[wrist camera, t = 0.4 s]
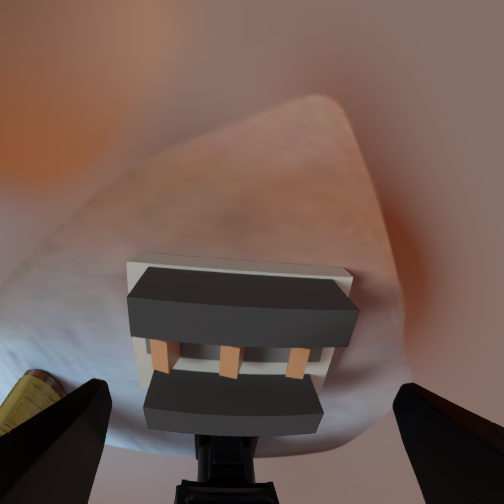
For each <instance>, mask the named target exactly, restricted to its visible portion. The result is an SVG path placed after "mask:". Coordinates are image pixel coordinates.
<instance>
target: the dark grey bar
mask: <svg viewBox="0 0 504 504" xmlns="http://www.w3.org/2000/svg"><path fill="white" fill-rule="evenodd" d="M285 376H286V374H238V377H237V379H234V378H230V377H225V376H221V375H219V373H215V372H201V371H189V370H179V369H172V370H171V371H170V373H169V374H168V373H165V372H161V371H158V370H155V369H154V372H153V375H152V378H151V381H150V385H149V388H148V392H147V395H146V399H145V402H144V406H143V409H144V414H145V418H146V423H147V427H148V428H150V429H156V430H163V431H171V432H179V433H189V434H201V435H217V436H284V435H300V434H311V433H316V431H317V428H318V426H319V424H320V421H321V419H322V417H323V414H324V412H323V409H322V407H321V404H320V401H319V398H318V396H317V393H316V390H315V388H314V385H313V382H312V379H311V377H310V374H304V376H303V379H298V378H291V377H285Z"/></svg>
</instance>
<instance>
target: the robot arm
mask: <svg viewBox="0 0 504 504" xmlns="http://www.w3.org/2000/svg"><path fill="white" fill-rule="evenodd" d="M111 409H112V399H111V396H110V392H109V388H108V384H107V382H106V381H104V380H100V379H96V378H93V379H91V380H89V381H88V382H86V383H84V384H83V385H81V386H80V387H78V388H77V389H75V390H74V391H72V392H71V393H69V394H67V395H66V396H64V397H63V398H61V399H60V400H58V401H56V402H55V403H53V404H52V405H50V406H49V407H47V408H45V409H44V410H42V411H41V412H39V413H37V414H36V415H34V416H33V417H31V418H30V419H28V420H26V421H25V422H23V423H22V424H20V425H18V426H17V427H15V428H13V429H12V430H10V431H9V433H8V432H7V433H5V434H4V435H2V436H0V504H88V500H89V496H90V493H91V489H92V486H93V482H94V479H95V475H96V472H97V468H98V465H99V462H100V459H101V455H102V452H103V448H104V443H105V438H106V433H107V428H108V423H109V418H110V413H111ZM393 410H394V414H395V417H396V421H397V424H398V427H399V431H400V434H401V438H402V441H403V444H404V447H405V449H406V452H407V454H408V457H409V460H410V462H411V465H412V467H413V470H414V473H415V475H416V478H417V480H418V483H419V486H420V489H421V491H422V494H423V497H424V500H425V503H426V504H504V427H502V426H500V425H498V424H496V423H492V422H491V421H489V420H487V419H485V418H483V417H480V416H479V415H477V414H475V413H472V412H470V411H468V410H466V409H464V408H462V407H460V406H458V405H456V404H454V403H452V402H450V401H448V400H446V399H444V398H442V397H440V396H438V395H437V394H435V393H433V392H430V391H429V390H427V389H425V388H423V387H421V386H419V385H417V384H415V383H406V384H403V385H402V386H401V387H400V389H399V391H398V393H397V395H396V397H395V399H394V401H393ZM257 439H258V436H217V435H201V434H195V449H196V459H197V460H198V478H197V482H196V481H188V480H183V479H182V483H181V485H178V486H176V496H175V501H174V504H279V501H278V498H277V494H276V491H275V488H274V484H273V482H267V483H256V482H255V473H254V464H253V457H254V453H255V448H256V444H257Z"/></svg>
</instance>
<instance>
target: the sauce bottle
mask: <svg viewBox="0 0 504 504" xmlns="http://www.w3.org/2000/svg"><path fill="white" fill-rule="evenodd" d="M64 396H66V394H65V392H64V390H63V389H62V387H61V386H60V385H59V384H58V383H57V381H55V380H54V379H53V378H52V377H50V376H49V375H48V374H46V373H45V372H43V371H40V370H28V371H26V373H25V374H24V375H23V377H22V378H20V379H19V380H18V382H17V383H16V384H15V386H14V387H13V388H12V390H11V391H10V393H9V394H8V396H7V397H6V398H5V400H4V401H3V403H2V404H1V406H0V436H2V435H4V434H5V433H7V432H8V433H9V431H10V430H12V429H13V428H15V427H17V426H18V425H20V424H22V423H23V422H25V421H26V420H28V419H30V418H31V417H33V416H34V415H36V414H37V413H39V412H41V411H42V410H44V409H45V408H47V407H49V406H50V405H52V404H53V403H55V402H56V401H58V400H60V399H61V398H63V397H64Z"/></svg>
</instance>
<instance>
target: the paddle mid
mask: <svg viewBox="0 0 504 504" xmlns="http://www.w3.org/2000/svg"><path fill="white" fill-rule="evenodd" d="M244 348H245V347H237V346H221V350H220V368H219V375H221V376H225V377H230V378H234V379H237V377H238V374H239V371H240V368H241V366H242V363H243V357H244Z"/></svg>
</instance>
